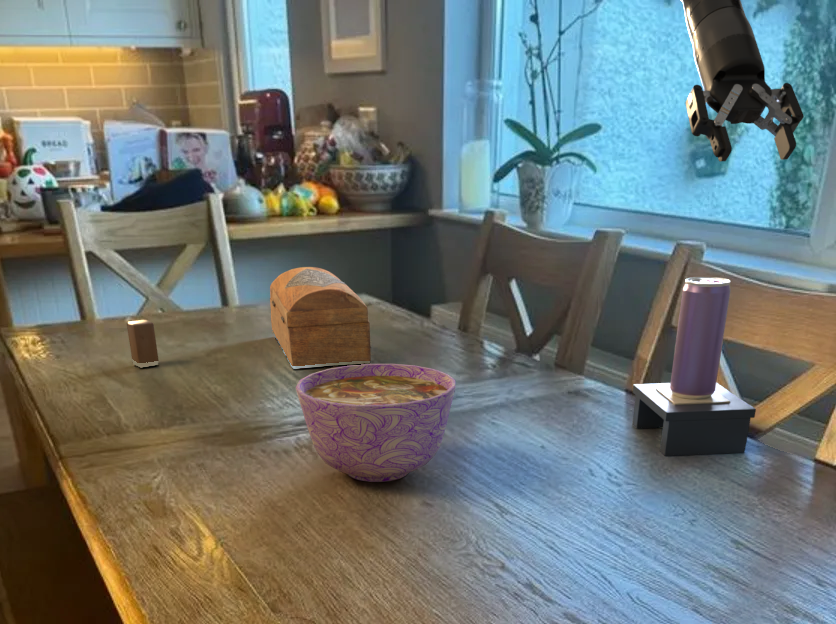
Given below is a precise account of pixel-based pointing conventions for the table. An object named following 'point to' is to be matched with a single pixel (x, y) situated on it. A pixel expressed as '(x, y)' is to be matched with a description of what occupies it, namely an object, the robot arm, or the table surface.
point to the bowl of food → (376, 417)
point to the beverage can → (700, 337)
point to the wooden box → (318, 318)
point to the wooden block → (142, 341)
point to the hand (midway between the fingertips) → (757, 155)
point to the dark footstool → (693, 420)
